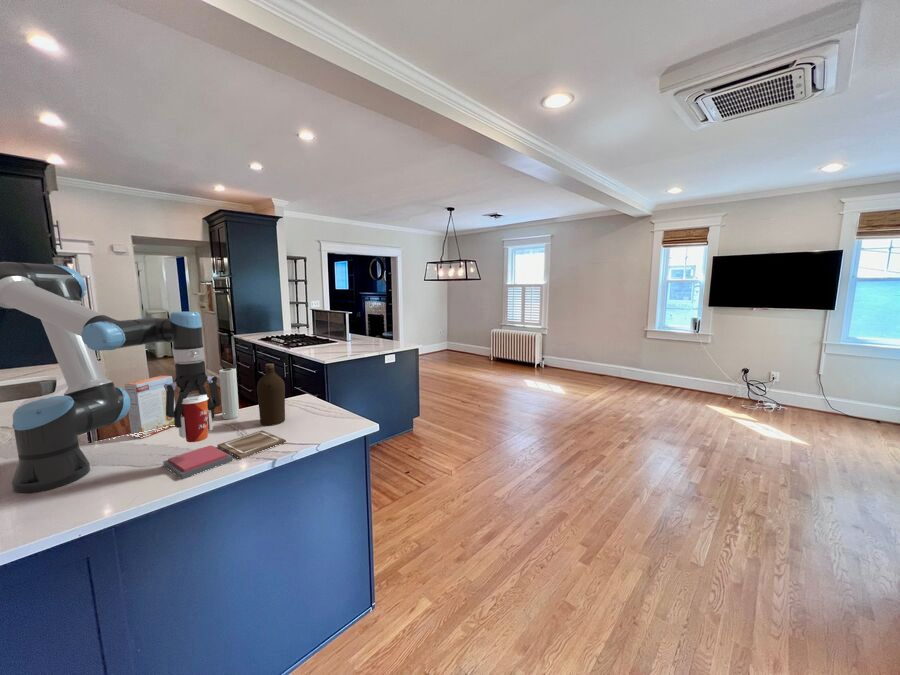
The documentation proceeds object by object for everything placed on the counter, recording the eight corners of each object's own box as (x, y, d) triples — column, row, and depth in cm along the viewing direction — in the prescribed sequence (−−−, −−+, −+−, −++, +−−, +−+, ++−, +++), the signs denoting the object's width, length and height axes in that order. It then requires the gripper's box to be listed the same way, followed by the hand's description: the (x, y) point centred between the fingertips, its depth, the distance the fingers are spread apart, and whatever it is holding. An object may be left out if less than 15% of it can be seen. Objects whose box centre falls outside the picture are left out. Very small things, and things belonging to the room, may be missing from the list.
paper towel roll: (225, 420, 152) (221, 371, 149) (220, 417, 156) (217, 369, 153) (243, 416, 157) (240, 369, 154) (239, 413, 161) (235, 367, 158)
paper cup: (211, 440, 112) (208, 397, 110) (181, 445, 108) (177, 401, 106) (211, 432, 118) (208, 391, 117) (182, 437, 114) (178, 394, 112)
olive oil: (291, 421, 152) (288, 363, 149) (265, 428, 144) (262, 367, 140) (279, 415, 158) (276, 360, 155) (254, 422, 150) (250, 364, 147)
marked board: (217, 447, 126) (217, 444, 126) (262, 432, 139) (262, 429, 139) (240, 459, 117) (240, 455, 117) (285, 442, 130) (285, 439, 130)
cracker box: (166, 424, 147) (161, 374, 145) (178, 425, 146) (173, 375, 143) (129, 437, 134) (123, 383, 131) (142, 438, 133) (136, 384, 130)
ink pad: (163, 466, 112) (163, 459, 112) (212, 450, 124) (212, 443, 123) (182, 479, 105) (181, 471, 104) (232, 460, 116) (232, 453, 116)
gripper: (155, 368, 100) (163, 446, 103) (229, 358, 116) (234, 425, 119) (145, 365, 104) (153, 440, 107) (218, 355, 120) (224, 421, 123)
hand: (196, 432), depth 113 cm, fingers closed on paper cup, 7 cm apart
